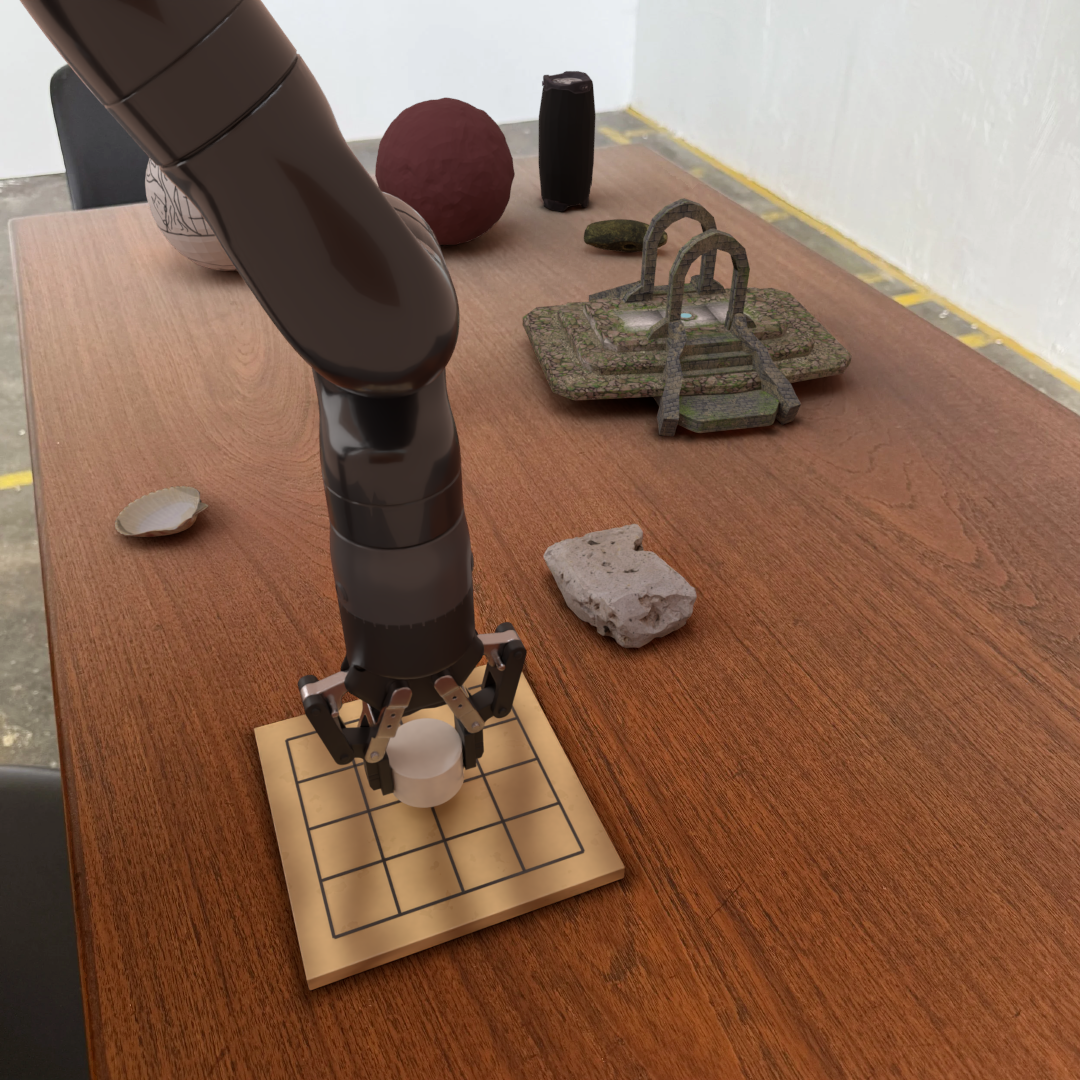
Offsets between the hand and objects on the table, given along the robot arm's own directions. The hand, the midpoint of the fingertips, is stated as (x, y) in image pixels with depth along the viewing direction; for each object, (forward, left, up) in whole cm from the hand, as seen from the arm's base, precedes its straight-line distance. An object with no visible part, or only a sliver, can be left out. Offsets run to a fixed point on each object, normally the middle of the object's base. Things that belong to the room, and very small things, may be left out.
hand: (425, 770), depth 64 cm
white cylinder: (0, 0, -1) cm, 1 cm away
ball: (+1, +100, -4) cm, 100 cm away
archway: (+46, +50, -4) cm, 68 cm away
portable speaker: (+55, +107, -4) cm, 120 cm away
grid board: (0, 0, -3) cm, 3 cm away
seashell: (-14, +39, -4) cm, 42 cm away
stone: (+21, +14, -4) cm, 25 cm away
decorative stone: (+55, +84, -4) cm, 100 cm away
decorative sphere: (+32, +98, -4) cm, 103 cm away
